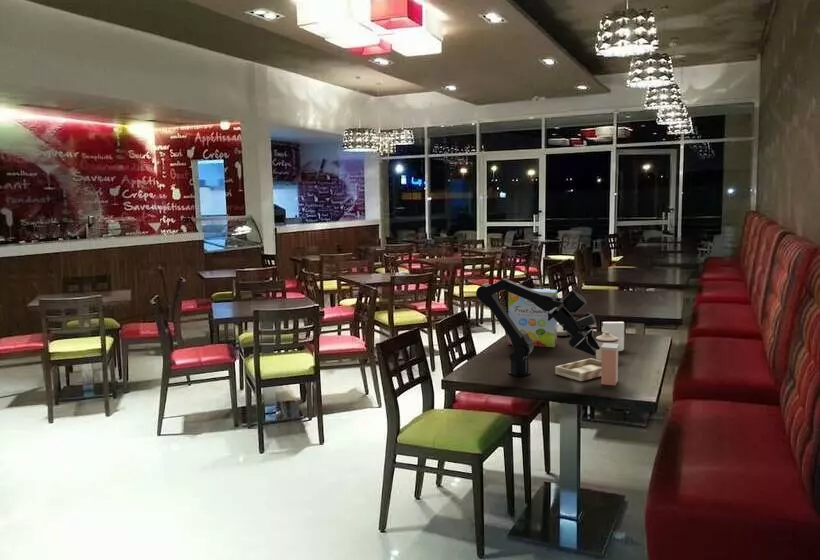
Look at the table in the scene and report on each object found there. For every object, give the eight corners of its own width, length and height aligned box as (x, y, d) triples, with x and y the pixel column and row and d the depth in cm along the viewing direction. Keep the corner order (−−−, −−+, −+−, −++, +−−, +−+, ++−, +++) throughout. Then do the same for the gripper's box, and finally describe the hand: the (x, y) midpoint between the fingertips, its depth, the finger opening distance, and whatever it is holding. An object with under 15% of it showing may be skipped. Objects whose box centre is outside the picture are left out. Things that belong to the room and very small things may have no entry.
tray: (581, 381, 250) (581, 373, 250) (555, 373, 261) (555, 366, 260) (616, 372, 261) (616, 364, 261) (590, 365, 272) (590, 358, 271)
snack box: (507, 345, 310) (507, 290, 306) (510, 341, 318) (510, 287, 314) (555, 347, 303) (555, 291, 299) (557, 343, 311) (557, 288, 308)
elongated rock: (580, 326, 354) (561, 326, 358) (580, 316, 354) (561, 316, 357) (572, 337, 322) (551, 337, 325) (571, 326, 321) (550, 326, 325)
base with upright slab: (621, 346, 302) (621, 320, 300) (625, 351, 293) (626, 324, 291) (601, 346, 303) (601, 320, 301) (604, 351, 294) (605, 324, 292)
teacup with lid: (617, 362, 275) (618, 334, 274) (594, 361, 278) (595, 333, 276) (618, 355, 287) (618, 328, 285) (596, 354, 289) (596, 327, 288)
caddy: (600, 384, 246) (600, 347, 244) (603, 379, 252) (603, 342, 250) (616, 385, 243) (616, 348, 242) (618, 380, 250) (619, 343, 248)
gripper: (577, 311, 240) (609, 343, 237) (586, 302, 257) (616, 332, 253) (556, 331, 244) (586, 363, 241) (566, 321, 261) (595, 351, 258)
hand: (597, 351), depth 248 cm, fingers open, 9 cm apart
